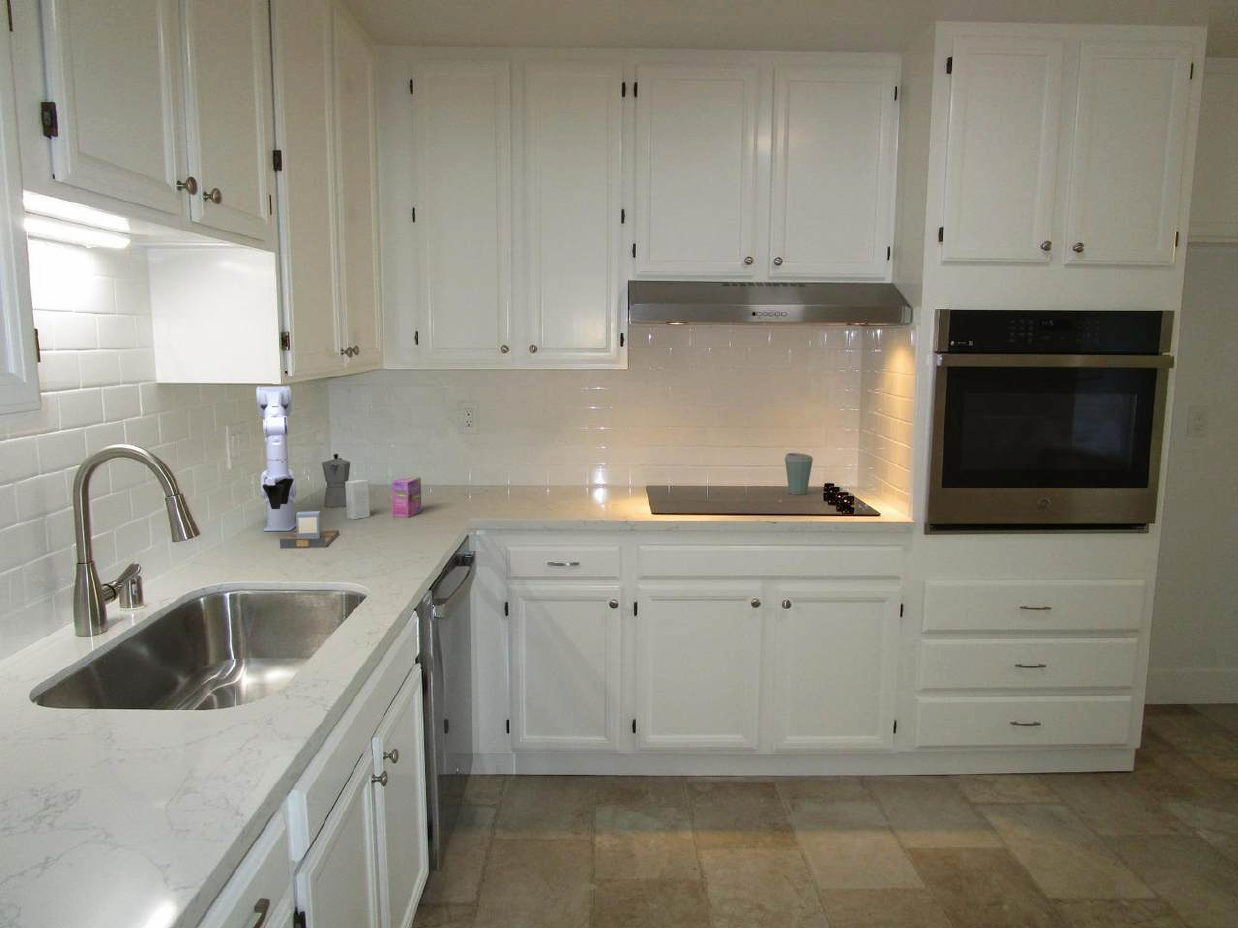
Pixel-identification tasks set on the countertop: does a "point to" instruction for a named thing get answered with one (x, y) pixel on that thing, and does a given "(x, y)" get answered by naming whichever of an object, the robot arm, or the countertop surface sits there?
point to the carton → (308, 524)
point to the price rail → (302, 542)
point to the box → (406, 497)
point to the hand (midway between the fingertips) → (279, 506)
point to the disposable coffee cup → (798, 472)
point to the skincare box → (357, 499)
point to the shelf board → (322, 535)
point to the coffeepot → (336, 481)
